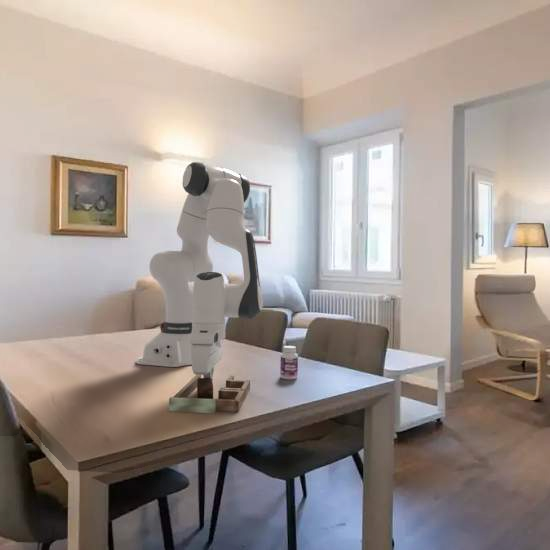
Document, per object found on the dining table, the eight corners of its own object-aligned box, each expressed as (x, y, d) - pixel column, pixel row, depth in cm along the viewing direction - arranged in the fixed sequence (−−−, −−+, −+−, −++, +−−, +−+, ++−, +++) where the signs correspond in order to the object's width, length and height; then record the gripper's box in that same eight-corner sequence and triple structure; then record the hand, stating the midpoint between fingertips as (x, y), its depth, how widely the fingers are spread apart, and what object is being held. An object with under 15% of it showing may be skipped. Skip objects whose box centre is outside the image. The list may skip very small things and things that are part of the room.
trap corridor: (168, 411, 111) (169, 398, 110) (196, 382, 136) (196, 372, 136) (237, 414, 109) (237, 401, 109) (252, 384, 135) (252, 374, 135)
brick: (197, 395, 124) (197, 377, 124) (211, 394, 125) (212, 377, 125) (197, 407, 114) (197, 388, 113) (213, 407, 114) (213, 388, 114)
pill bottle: (285, 380, 141) (285, 348, 140) (277, 376, 145) (277, 345, 145) (300, 378, 143) (301, 347, 143) (292, 374, 148) (292, 344, 147)
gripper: (206, 326, 136) (205, 373, 137) (187, 338, 116) (186, 393, 116) (227, 327, 136) (227, 374, 136) (212, 339, 115) (211, 394, 116)
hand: (208, 383), depth 126 cm, fingers closed
